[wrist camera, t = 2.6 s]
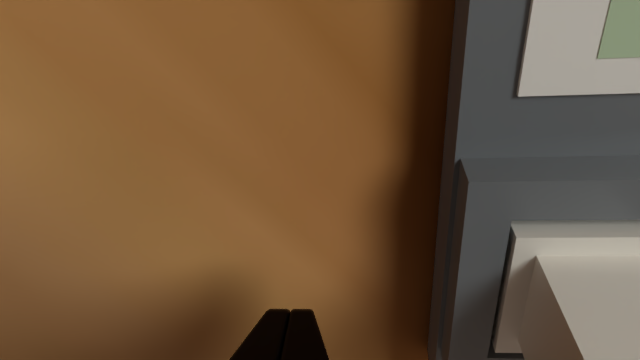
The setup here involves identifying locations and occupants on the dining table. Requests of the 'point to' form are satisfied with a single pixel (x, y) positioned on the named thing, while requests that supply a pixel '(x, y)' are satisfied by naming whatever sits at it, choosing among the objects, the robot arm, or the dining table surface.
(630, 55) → the switch bank
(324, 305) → the dining table surface
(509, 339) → the tab
